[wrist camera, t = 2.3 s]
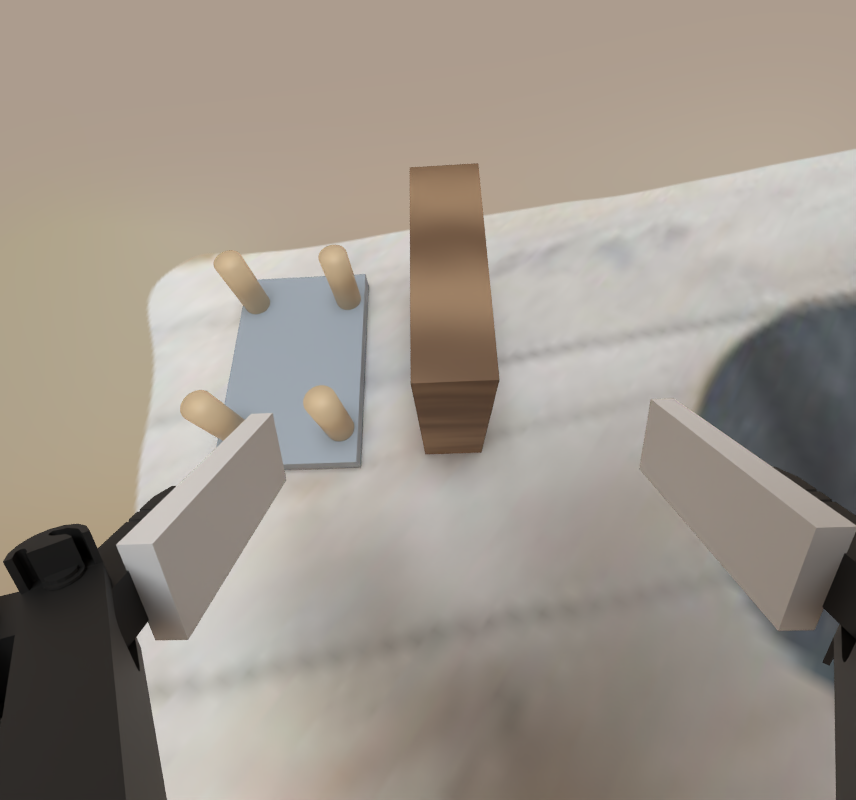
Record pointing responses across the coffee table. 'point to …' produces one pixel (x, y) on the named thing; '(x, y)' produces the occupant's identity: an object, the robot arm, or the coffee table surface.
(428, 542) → the coffee table surface
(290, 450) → the cradle
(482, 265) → the board
